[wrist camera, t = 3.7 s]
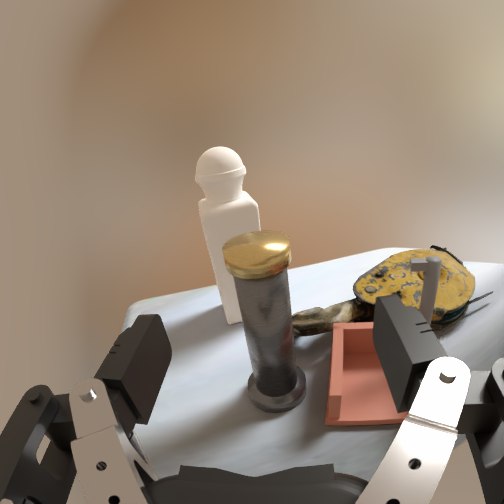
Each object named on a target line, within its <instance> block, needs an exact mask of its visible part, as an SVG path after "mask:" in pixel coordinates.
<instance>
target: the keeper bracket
mask: <svg viewBox="0 0 504 504" xmlns="http://www.w3.org/2000/svg"><path fill="white" fill-rule="evenodd" d="M441 263H442V259H441V258H440V257H437V256H428V257H427V258H415V259H410V265H409V268H410V270H411V272H417V271H425V274H424V281H423V288H422V295H421V301H420V307H419V311H420V312H421V313H422V315H423V316H424V318H425V319H426V321H427V324H429V326H430V324H431V320H432V315H433V310H434V305H435V300H436V294H437V289H438V283H439V277H440V270H441ZM408 414H409V412H408V411H406V412H402V413H397V410H396V407H395V404H394V401H393V398H392V395H391V392H390V389H389V386H388V383H387V380H386V377H385V375H384V372H383V369H382V366H381V363H380V361H379V358H378V355H377V353H376V350H375V347H374V343H373V322H359V323H334V328H333V346H331V357H330V372H329V385H328V397H327V407H326V417H325V425H334V426H345V425H379V424H395V423H403V421H404V419H405V418H406V416H407V415H408Z"/></svg>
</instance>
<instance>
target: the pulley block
mask: <svg viewBox="0 0 504 504" xmlns="http://www.w3.org/2000/svg"><path fill="white" fill-rule="evenodd" d="M430 248H434V249H436V250H425V249H418V250H409V251H404V252H400V253H398V254H395V255H392V256H390V257H389V258H387V259H386V260H384V261H383V262H381V263H380V264H378V265H377V266H375V267H374V268H372V269H370V270H369V271H367V272H366V273H364V274H363V275H361V276H360V277H359V278H358V280H357V281H356V282H355V283H354V285H353V291H354V294H355V296H356V298H355V299H352V300H349V301H345V302H342V303H339V304H335V305H332V306H330V307H328V308H326V309H323V308H320V307H315V308H312V309H308V310H304V311H301V312H297V313H295V314H293V315H292V325H293V335H294V336H312V335H317V334H321V333H325V332H329V331H333V328H334V323H349V322H350V321H351V320H352V319H353V320H354V321H355V322H356V323H359V322H374V312H375V302H376V298H377V297H378V296H386V295H393V294H397V295H398V296H399V298H400V299H401V301H402V302H403V304H404V306H412V307H414V308H415V309H417V310H418V311H419V307H420V301H421V295H422V288H423V281H424V274H425V271H417V272H411V270H410V268H409V265H410V259H415V258H427V257H428V256H437V257H440V258H441V259H442V263H441V270H440V277H439V283H438V289H437V294H436V300H435V305H434V310H433V315H432V320H431V324H430V327H431V329H432V330H440V329H442V328H444V327H447V326H450V325H452V324H453V323H455V322H457V321H458V320H459V319H460V318H461V317H462V316H463V315H464V314H465V312H466V311H467V308H468V306H469V304H471V303H473V302H475V301H478V300H480V299H482V298H484V297H486V296H488V295H489V294H492V293H493V291H492V292H490V293H488V294H485V295H483V296H481V297H478V298H475V299H474V300H471V301H469V299H470V298H471V297H472V295H473V293H474V289H475V277H474V276H473V275H472V274H471V273H470V272H469V271H468V270H467V269H466V267H464V266H463V262H462V261H460V260H459V259H457V258H456V257H455V256H454V255H453V254H452V253H451V252H449V251H447V250H446V248H441V247H438V246H434V245H432V246H431V247H430Z"/></svg>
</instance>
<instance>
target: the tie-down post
mask: <svg viewBox="0 0 504 504" xmlns="http://www.w3.org/2000/svg"><path fill="white" fill-rule="evenodd" d="M222 251H223V256H224V261H225V266H226V270H227V272H228V273H229V274H231V275H233V278H234V283H235V288H236V293H237V298H238V303H239V308H240V312H241V317H242V322H243V327H244V332H245V336H246V341H247V346H248V351H249V355H250V360H251V365H252V369H253V373H252V374H251V376H250V377H249V380H248V390H249V394H250V397H251V400H252V402H253V403H254V405H255V406H256V407H258V408H259V409H261V410H263V411H266V412H272V413H279V412H285V411H288V410H291V409H293V408H294V407H296V406H297V405H298V404H300V403H301V401H302V400H303V398H304V396H305V394H306V379H305V375H304V373H303V371H302V370H301V369H300V368H299V367H298V366H296V359H295V347H294V335H293V325H292V314H291V304H290V294H289V284H288V274H287V267H288V266H289V264H290V263H291V250H290V240H289V237H288V236H287V235H286V234H284V233H281V232H278V231H269V230H267V231H266V230H263V231H253V232H248V233H244V234H241V235H238V236H235V237H233V238H231V239H230V240H228V241H227V242H226V243H225V244H224V245H223V247H222Z"/></svg>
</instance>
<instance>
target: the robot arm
mask: <svg viewBox="0 0 504 504" xmlns="http://www.w3.org/2000/svg"><path fill="white" fill-rule="evenodd" d="M373 343H374V347H375V350H376V353H377V355H378V358H379V361H380V363H381V366H382V369H383V372H384V375H385V377H386V380H387V383H388V386H389V389H390V392H391V395H392V398H393V401H394V404H395V407H396V410H397V413H402V412H406V411H408V412H409V414H408V415H407V416H406V418H405V419H404V421H403V423H402V425H401V427H400V429H399V431H398V433H397V435H396V437H395V439H394V441H393V443H392V444H391V446H390V448H389V450H388V452H387V453H386V455H385V457H384V459H383V460H382V462H381V464H380V466H379V467H378V469H377V471H376V472H375V474H374V475H373V477H372V479H371V480H370V482H367V481H366V480H363V479H361V478H358V477H355V476H352V475H348V474H342V473H334V466H333V464H326V465H317V466H307V467H294V468H291V469H287V470H283V471H280V472H276V473H272V474H268V475H263V476H259V477H249V476H245V475H241V474H236V473H232V472H229V471H225V470H221V469H217V468H206V467H193V466H182V465H181V466H180V471H179V475H173V476H168V477H165V478H162V479H159V477H158V476H157V475H156V473H155V472H154V470H153V468H152V466H151V464H150V462H149V460H148V458H147V456H146V454H145V452H144V450H143V448H142V446H141V444H140V441H139V439H138V437H137V435H136V433H135V431H134V430H133V429H134V426H135V424H136V423H137V424H145V425H147V424H148V421H149V418H150V416H151V413H152V410H153V407H154V405H155V402H156V399H157V396H158V394H159V391H160V388H161V385H162V383H163V380H164V377H165V375H166V372H167V369H168V367H169V364H170V361H171V357H172V350H171V345H170V342H169V339H168V337H167V334H166V331H165V328H164V325H163V322H162V319H161V317H160V316H159V315H158V314H149V315H139V316H138V317H137V319H136V320H135V322H134V324H133V325H132V327H128V328H127V329H126V330H125V331H124V332H123V333H121V334H120V335H119V337H118V338H117V340H116V341H115V343H114V346H113V347H112V348H111V350H110V351H109V354H108V355H107V356H106V358H105V359H104V361H103V363H102V365H101V366H100V368H99V370H98V371H97V373H96V375H95V376H94V378H90V379H86V380H83V381H81V382H79V383H78V384H76V385H75V386H74V387H73V389H72V390H71V392H70V394H62V395H54V394H53V393H52V391H51V390H50V389H49V387H48V386H46V385H37V386H34V387H33V388H31V389H29V390H28V391H27V392H26V393H25V395H24V396H23V397H22V399H21V401H20V402H19V404H18V405H17V407H16V409H15V411H14V412H13V414H12V416H11V417H10V419H9V421H8V423H7V424H6V426H5V428H4V430H3V431H2V433H1V435H0V504H66V502H67V499H68V496H69V493H70V490H71V487H72V484H73V482H74V479H75V476H76V473H78V477H79V481H80V484H81V487H82V491H83V494H84V497H85V500H86V503H87V504H429V503H430V501H431V499H432V496H433V495H434V492H435V490H436V488H437V486H438V483H439V481H440V479H441V477H442V474H443V472H444V469H445V467H446V464H447V462H448V459H449V457H450V454H451V451H452V449H453V446H454V443H455V440H456V437H457V434H466V437H467V440H468V443H469V446H470V449H471V452H472V455H473V458H474V462H475V465H476V468H477V472H478V475H479V479H480V482H481V486H482V490H483V494H484V498H485V502H486V504H504V358H501V359H499V360H497V361H496V362H495V363H494V365H493V367H492V369H491V371H469V370H468V368H467V367H466V365H465V364H464V363H463V362H461V361H459V360H457V359H455V358H450V357H448V355H447V354H446V352H445V350H444V349H443V347H442V345H441V344H440V342H439V340H438V339H437V337H436V335H435V334H434V332H433V331H432V329H431V327H430V326H429V324H427V321H426V319H425V318H424V316H423V315H422V313H421V312H420V311H418V310H417V309H415V308H414V307H412V306H404V304H403V302H402V301H401V299H400V298H399V296H398V295H397V294H393V295H386V296H378V297H377V298H376V302H375V312H374V322H373ZM44 435H46V436H47V437H48V438H49V439H50V440H51V441H50V443H49V446H48V448H47V450H46V452H45V454H44V457H43V459H42V461H41V464H39V463H38V461H37V459H36V452H37V450H38V447H39V445H40V443H41V441H42V439H43V437H44Z"/></svg>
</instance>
